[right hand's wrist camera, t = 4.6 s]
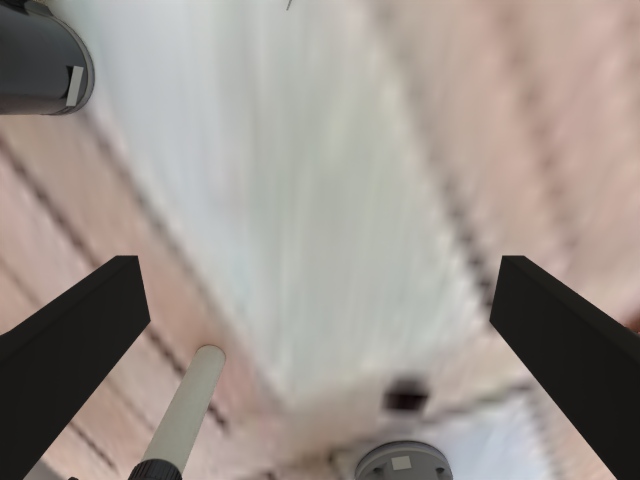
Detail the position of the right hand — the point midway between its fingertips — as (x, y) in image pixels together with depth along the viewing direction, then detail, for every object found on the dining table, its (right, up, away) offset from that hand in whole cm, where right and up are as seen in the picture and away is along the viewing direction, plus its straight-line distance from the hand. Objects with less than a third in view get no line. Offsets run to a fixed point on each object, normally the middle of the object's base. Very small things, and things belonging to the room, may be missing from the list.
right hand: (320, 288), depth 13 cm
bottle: (-15, -14, +35) cm, 41 cm away
